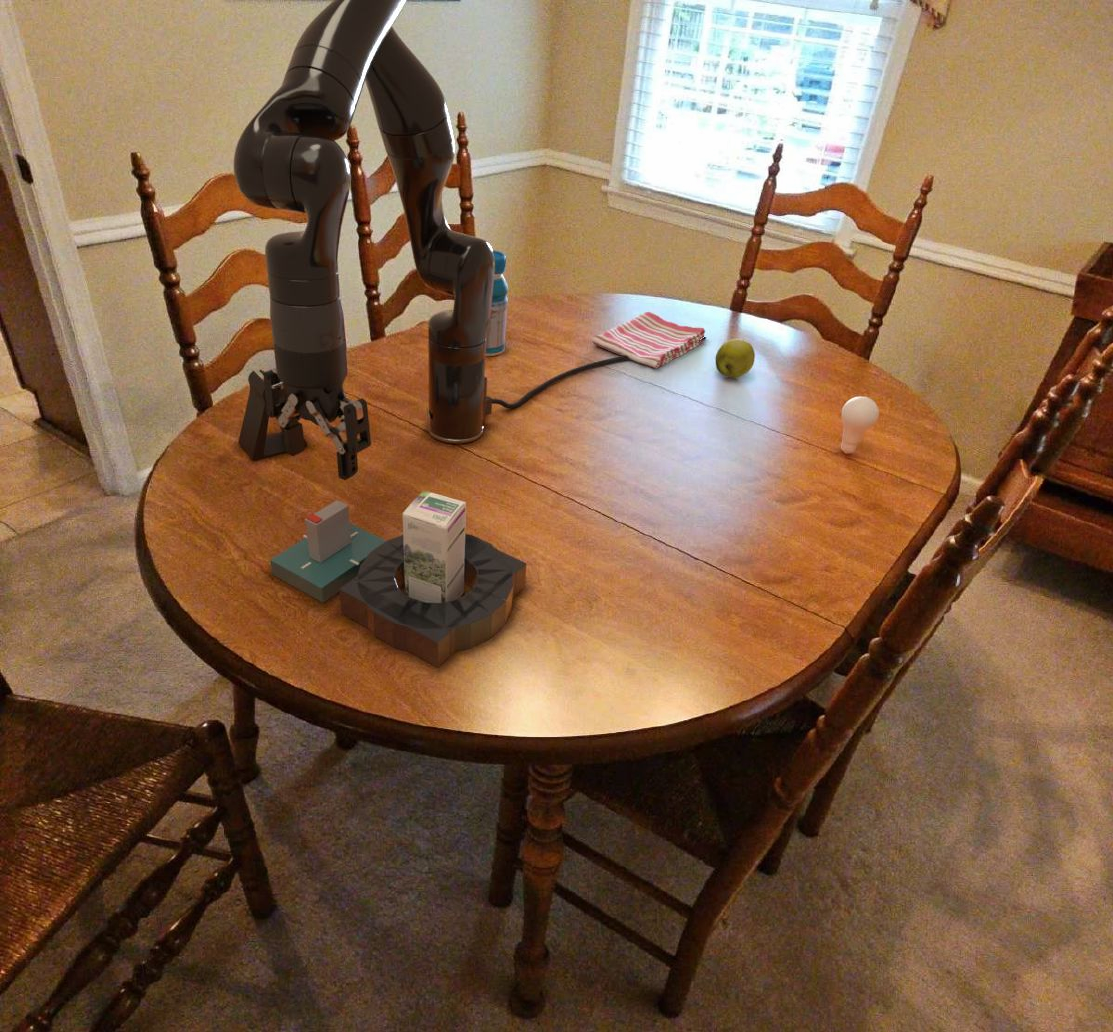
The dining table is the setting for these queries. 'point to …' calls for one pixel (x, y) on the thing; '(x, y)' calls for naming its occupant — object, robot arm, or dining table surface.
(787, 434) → the dining table surface
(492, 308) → the beverage bottle
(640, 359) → the dish towel
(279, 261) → the robot arm
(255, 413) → the phone stand
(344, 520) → the tap handle
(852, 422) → the lightbulb
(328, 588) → the block
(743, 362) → the apple
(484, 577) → the dark grey ring block
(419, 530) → the syrup box
